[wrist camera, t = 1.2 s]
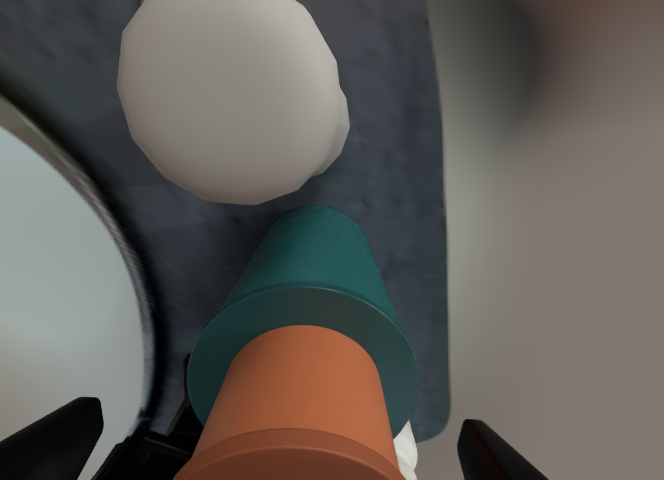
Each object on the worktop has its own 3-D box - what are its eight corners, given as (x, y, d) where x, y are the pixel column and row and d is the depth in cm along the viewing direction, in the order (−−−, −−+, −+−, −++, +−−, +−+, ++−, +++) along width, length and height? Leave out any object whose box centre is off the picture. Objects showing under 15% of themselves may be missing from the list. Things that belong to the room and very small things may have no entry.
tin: (363, 314, 22) (397, 481, 11) (256, 304, 21) (189, 466, 11) (380, 210, 20) (442, 299, 9) (261, 197, 19) (183, 274, 9)
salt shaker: (351, 169, 19) (396, 237, 6) (253, 182, 19) (114, 272, 7) (339, 56, 17) (370, -154, 5) (231, 71, 17) (-21, -93, 5)
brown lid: (373, 458, 11) (397, 630, 7) (218, 447, 11) (159, 619, 7) (401, 326, 9) (451, 458, 6) (219, 309, 9) (143, 436, 5)
